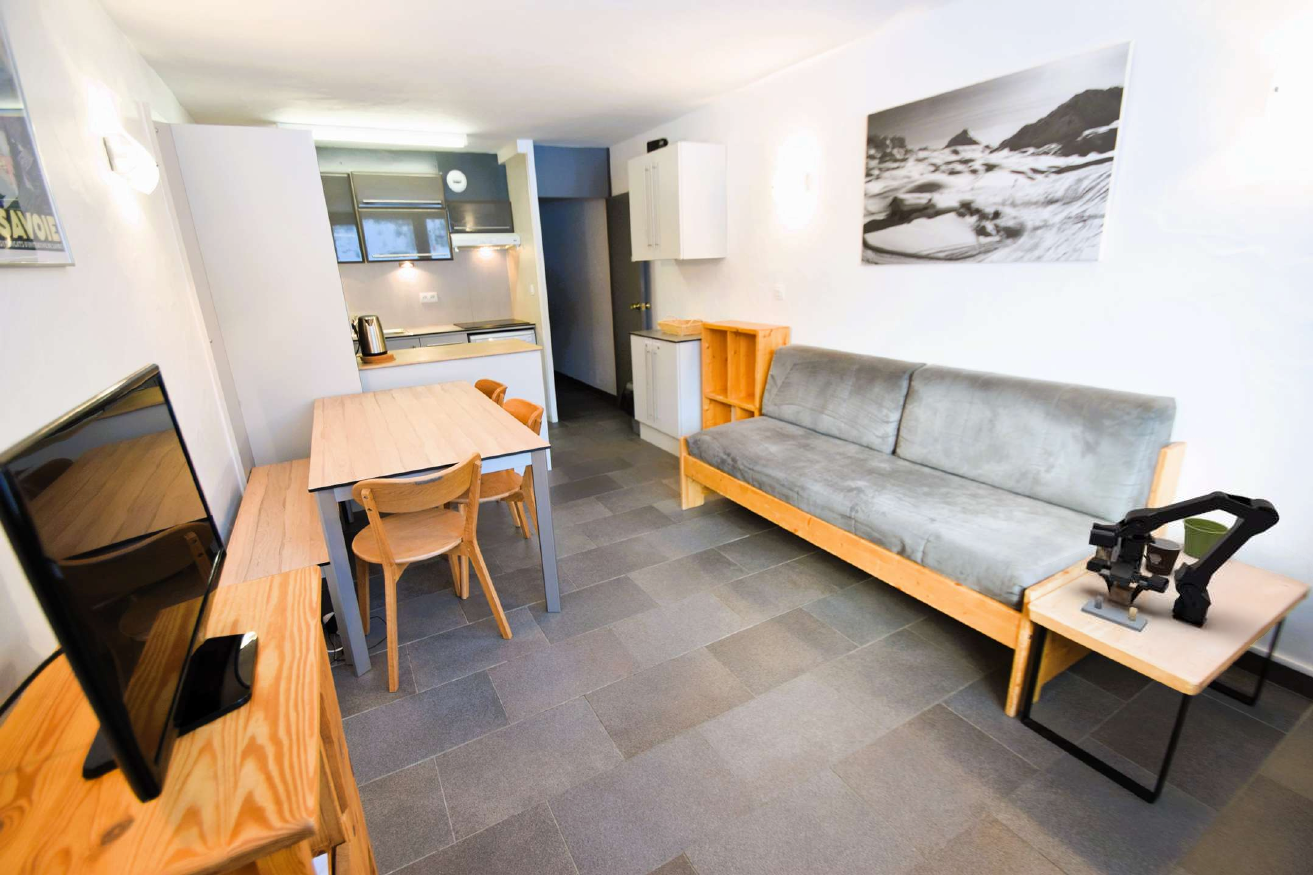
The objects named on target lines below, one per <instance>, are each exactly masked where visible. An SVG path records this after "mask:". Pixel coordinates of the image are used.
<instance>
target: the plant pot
mask: <svg viewBox="0 0 1313 875" xmlns="http://www.w3.org/2000/svg"><path fill="white" fill-rule="evenodd" d="M1182 523H1183V528H1184V541H1183V543H1184V544H1183V552H1184V553H1185V554H1186V555H1190V557H1193V558H1195V559H1200V558H1201V557H1202V556H1203V555H1204V554H1205V553H1206V552H1207V551H1208V550H1209V549H1210V548H1211V547H1212V546H1213V545H1214V544H1215V543H1216V542H1217V541H1218V540H1219V539H1220V538H1221V537H1222V536H1223V535H1224V534H1225V533H1226V532H1227V531H1228V530H1229V529H1230V528H1229V527H1228V526H1227V525H1225V524H1223V523H1221V522H1217V521H1214V520H1211V519H1207V518H1200V517H1188V518H1185V519H1182Z"/></svg>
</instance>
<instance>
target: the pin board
mask: <svg viewBox="0 0 1313 875" xmlns="http://www.w3.org/2000/svg"><path fill="white" fill-rule="evenodd" d="M1103 601H1104V596H1102V595H1096V598H1095V600H1094V599H1091V598H1090V599H1088V600H1087V602H1085V603H1084V604H1083V605H1082V607H1081V608H1080V610H1081V612H1083V613H1085V614H1089V615H1091V616H1095V617H1097V618H1101V619H1102V620H1105V621H1108V622H1111V623H1114V624H1116V625H1119V626H1122V627H1125V628H1127V629H1130V630H1133V631H1136V632H1138V633H1141V632H1142V631H1143V630H1144V628H1145V627H1146V626H1147V624H1148V622H1149V619H1148V618H1145V617H1143V616H1141V615H1138V614H1137V613H1138V608H1136V607H1133V606H1130V607H1129V610H1128V611H1125V610H1123V609H1120V608H1117V607H1114V606H1111V605H1108V604H1105V603H1104V602H1103Z"/></svg>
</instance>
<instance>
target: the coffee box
mask: <svg viewBox="0 0 1313 875" xmlns="http://www.w3.org/2000/svg"><path fill="white" fill-rule="evenodd" d="M1105 525H1106V526H1112V527H1115V524H1105ZM1120 542H1121V538H1120V537H1119V539H1118V544H1117V547H1116V546H1115V547H1114V548H1112V549H1108V548H1103V547H1099V546H1096V550H1095V557H1099V558H1102V559H1105V560H1108V565H1111V566H1113V564H1114V562H1115V561H1116V559H1117V556H1118V552H1119V547H1120ZM1099 573H1100V572H1099ZM1099 573H1098V574H1099Z"/></svg>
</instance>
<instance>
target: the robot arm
mask: <svg viewBox="0 0 1313 875" xmlns="http://www.w3.org/2000/svg"><path fill="white" fill-rule="evenodd" d="M1213 511H1214V512H1215V511H1221V512H1225V513H1228V514H1230V515H1232V516H1235V517H1236V519H1235V522H1234V523H1233V525H1232V526H1231V527H1230V528H1229V530H1228V531H1227V532H1226V533H1225V534H1224V535H1223V536H1222V537H1221V538H1220V539H1219V540H1218V541H1217V542H1216V543H1215V544H1214V545H1213V546H1212V547H1211V548H1210V549H1209V550H1208V551H1207V552H1206V553H1205V554H1204V555H1203V556H1202V557H1201V558H1198V560H1196V561H1195V562H1193V563H1191V564H1188V563H1187V562H1185V561H1184V562H1182V563H1181V564H1180V566H1179V568H1177V569H1175V570H1173V573H1174V576H1173V581H1174V582H1173V583H1174V587H1175V588H1174V589H1175V591H1176V593H1177V594H1178V597H1176V599H1175V600H1174V602H1173V605H1172V610H1171V613H1172V616H1171V618H1172V619H1174V620H1177V621H1181V622H1183V623H1186V624H1189V625H1192V626H1196V627H1198V628H1203V627H1204V625H1205V623H1206V622H1207V621H1208V617H1207V616H1208V612H1209V608H1210V606H1212V601H1211V598H1210V594H1209V590H1208V589H1207V588H1208V586H1209V583H1210V581H1211V579H1212V576H1213V575H1214V574H1215V573H1216V572H1217V571H1218V570H1219V569H1220V568H1221V567H1222V566H1223V565H1224V564H1226V562H1228V561H1229V560H1230V559H1231V558H1232V557H1233V555H1235V554H1236V553H1237V552H1238V551H1239V550H1240V549H1241V548H1242V547H1243V546H1244V545H1245V544H1246V543H1247V542H1248V541H1250V539H1252V538H1253V537H1254V536H1258V535H1259V534H1263V533H1264V532H1266V531H1268V530H1269V529H1271V528H1272V527H1275V526H1276V525H1277V524H1278V523H1279V521H1280V514H1279V513H1278V511H1277V509H1276V507H1275V506H1274V504H1273V503H1272V502H1270V501H1269V500H1267V499H1265V498H1251V497H1248V496H1243V495H1239V494H1231V493H1227V492H1224V491H1220V490H1216V491H1212V492H1210V493H1207V494H1204V495H1200V496H1198V497H1194V498H1190V499H1185V500H1181V501H1179V502H1175V503H1172V504H1168V505H1165V506H1160V507H1143V508H1136V509H1131V510H1129V511H1127V513H1126V514H1125V516H1124V518H1122V519H1121V520H1120V521H1118V522H1116V523H1115V524H1114V525H1115V527H1112V526H1106V525H1107V524H1101V523H1098V522H1093V523H1092V525H1091V526H1092V528H1091V529H1090V533H1089V538H1088V545H1089V546H1096V547H1097V546H1099V547H1103V548H1108V549H1112V548H1114V547H1115V546H1116V547H1117V544H1118V539H1119V537H1120V538H1121V542H1120V547H1119V552H1118V556H1117V559H1116V561H1115V562H1114V564H1113V566H1111V565H1108V560H1105V559H1102V558H1099V557H1095V556H1093V557H1091V558H1090V559H1089V560H1088V561H1087V563H1086V566H1085V569H1086V571H1090V572H1092V573H1096V574H1098V576H1099V577H1101V578H1103V579H1104V581H1105V584H1106V588H1107V592H1108V596H1110V591H1111V587H1112V586H1113V585H1114V584H1115V583H1116V582H1117V583H1120V584H1122V585H1125V586H1131V584H1136V585H1135V591H1134V593H1133V596H1132V598H1131V603H1132V604H1133V603H1134V602H1135V600H1137V598H1138V596H1139V595H1141V593H1142V592H1144V591H1145V592H1148V591H1153V592H1156V593H1159V594H1165V592H1166V591H1167V590H1168V589H1169V587H1170V586H1169V585H1170V582H1171V581H1170V579H1169V578H1168V577H1166V576H1160V575H1156V574H1152V573H1151V576H1149V575H1145V574H1143V573H1142V572H1141V568H1142V564H1143V560H1144V555H1145V553H1146V552H1145V551H1146V548H1147V546H1146V543H1151V544H1155V543H1156V541H1155V538H1156V537H1154V536H1153V535H1152V532H1154V531H1156V530H1158V529H1160V528H1161V527H1163V526H1165V525H1166V524H1169V523H1173V522H1177V521H1181V520H1183V519H1185V518H1193V517H1196V516H1200V515H1203V514H1207V513H1211V512H1213ZM1099 572H1100V573H1099Z"/></svg>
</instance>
